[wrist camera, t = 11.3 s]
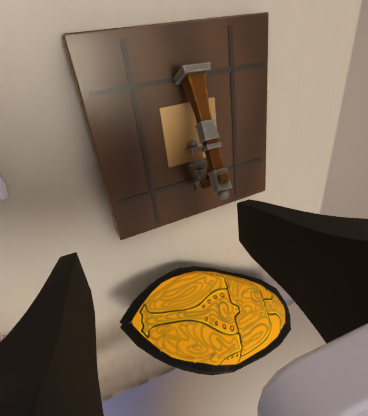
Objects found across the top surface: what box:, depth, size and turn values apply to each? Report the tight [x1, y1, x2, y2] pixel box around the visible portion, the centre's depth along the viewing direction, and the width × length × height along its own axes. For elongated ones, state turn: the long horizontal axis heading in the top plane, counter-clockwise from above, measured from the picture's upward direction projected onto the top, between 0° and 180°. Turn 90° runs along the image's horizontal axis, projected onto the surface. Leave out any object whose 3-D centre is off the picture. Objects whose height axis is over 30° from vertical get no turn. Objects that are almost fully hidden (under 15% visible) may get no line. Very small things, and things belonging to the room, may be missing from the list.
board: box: [62, 12, 268, 240], centre depth 20 cm, size 13×13×1 cm
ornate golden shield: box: [120, 266, 291, 375], centre depth 26 cm, size 9×17×6 cm
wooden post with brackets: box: [173, 62, 233, 200], centre depth 19 cm, size 2×8×4 cm, turn 6°
